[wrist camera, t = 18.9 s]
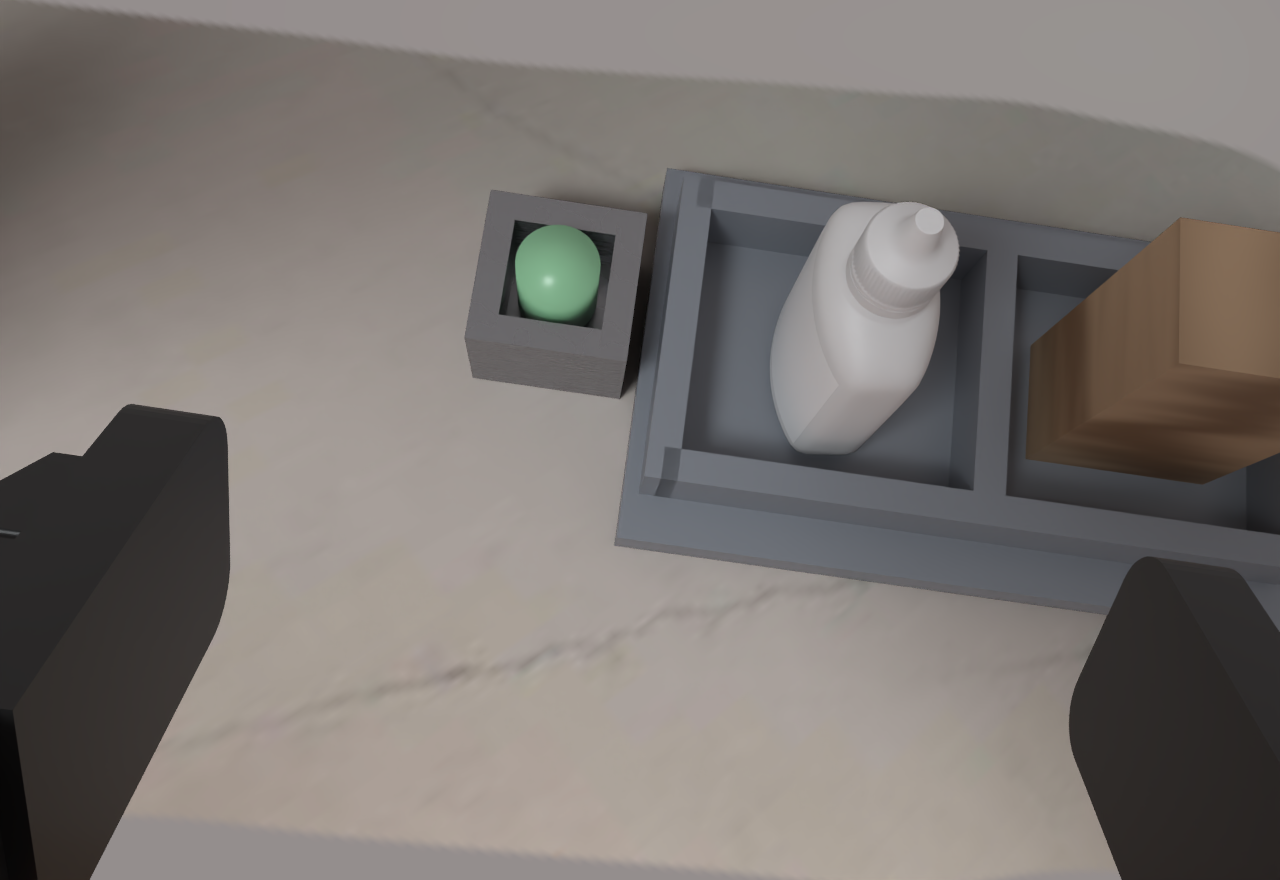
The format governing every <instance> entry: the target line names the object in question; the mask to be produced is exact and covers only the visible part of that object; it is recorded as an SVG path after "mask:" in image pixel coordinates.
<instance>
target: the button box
mask: <svg viewBox="0 0 1280 880" xmlns="http://www.w3.org/2000/svg"><path fill="white" fill-rule="evenodd" d="M646 220H647V213H642V212H635V211H628V210H622V209H615V208H609V207H602V206H595V205H589V204H582V203H575V202H569V201H562V200H556V199H549V198H542V197H536V196H529V195H522V194H516V193H509V192H503V191H496V190H491V192H490V198H489V203H488V209H487V215H486V220H485V226H484V231H483V237H482V243H481V248H480V254H479V259H478V265H477V271H476V276H475V282H474V288H473V293H472V299H471V304H470V310H469V316H468V321H467V327H466V332H465V342H466V347H467V352H468V357H469V361H470V366H471V371H472V376H473V378H480V379H487V380H494V381H500V382H507V383H514V384H521V385H528V386H535V387H542V388H549V389H555V390H562V391H569V392H576V393H583V394H590V395H597V396H604V397H611V398H617V399H620V394H621V389H622V384H623V378H624V373H625V368H626V363H627V356H628V349H629V342H630V335H631V327H632V320H633V313H634V306H635V299H636V292H637V285H638V277H639V270H640V263H641V256H642V249H643V242H644V234H645V227H646ZM549 225H566V226H570V227H573V228H576V229H578V230H580V231H581V232H583V233H584V234H585V235H587V236H588V237H589V238H590V239H591V240H592V242H593V243H594V244H595V246H596V248H597V250H598V253H599V256H600V263H601V267H600V277H599V287H598V297H597V305H596V309H595V312H594V314H593V316H592V318H591V319H590V320H589V322H588V323H587V324H586V325H585V326H583V327H580V326H573V325H566V324H560V323H553V322H546V321H539V320H532V319H526V318H524V317H523V316H522V314H521V312H520V309H519V305H518V297H517V284H516V270H515V259H516V254H517V251H518V248H519V247H520V245H521V243H522V242H523V240H524V239H525V238H526V237H527V236H528V235H529V234H531V233H532V232H534V231H535V230H537V229H539V228H542V227H545V226H549Z"/></svg>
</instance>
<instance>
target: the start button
mask: <svg viewBox="0 0 1280 880" xmlns="http://www.w3.org/2000/svg"><path fill="white" fill-rule="evenodd" d="M600 267H601V263H600V256H599V253H598V250H597V248H596V246H595V244H594V243H593V242H592V240H591V239H590V238H589V237H588V236H587V235H585V234H584V233H583V232H581V231H580V230H578V229H576V228H573V227H570V226H566V225H549V226H545V227H542V228H539V229H537V230H535V231H534V232H532V233H531V234H529V235H528V236H527V237H526V238H525V239H524V240H523V242H522V243H521V245H520V247H519V248H518V251H517V254H516V259H515V270H516V284H517V297H518V305H519V309H520V312H521V314H522V316H523V317H524V318H526V319H532V320H539V321H546V322H553V323H560V324H566V325H573V326H580V327H583V326H585V325H586V324H587V323H588V322H589V320H590V319H591V318H592V316H593V314H594V312H595V309H596V305H597V297H598V287H599V277H600Z"/></svg>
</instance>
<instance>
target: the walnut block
mask: <svg viewBox="0 0 1280 880" xmlns="http://www.w3.org/2000/svg"><path fill="white" fill-rule="evenodd" d="M1278 453H1280V233H1279V232H1272V231H1266V230H1259V229H1253V228H1246V227H1240V226H1233V225H1227V224H1220V223H1214V222H1207V221H1201V220H1194V219H1188V218H1181V217H1180V218H1179V219H1178V220H1177V221H1176V222H1175V223H1173V224H1172V225H1171V226H1170V227H1169V228H1168V229H1166V230H1165V231H1164V232H1163V233H1162V234H1161V235H1159V236H1158V237H1157V238H1156V239H1155V240H1153V241H1152V242H1151V243H1150V244H1149V245H1148V246H1146V247H1145V248H1144V249H1143V250H1142V251H1141V252H1139V253H1138V254H1137V255H1136V256H1135V257H1134V258H1132V259H1131V260H1130V261H1129V262H1128V263H1127V264H1125V265H1124V266H1123V267H1122V268H1121V269H1120V270H1118V271H1117V272H1116V273H1115V274H1114V275H1113V276H1111V277H1110V278H1109V279H1108V280H1107V281H1106V282H1104V283H1103V284H1102V285H1101V286H1100V287H1098V288H1097V289H1096V290H1095V291H1094V292H1093V293H1091V294H1090V295H1089V296H1088V297H1087V298H1086V299H1084V300H1083V301H1082V302H1081V303H1080V304H1079V305H1077V306H1076V307H1075V308H1074V309H1073V310H1072V311H1070V312H1069V313H1068V314H1067V315H1066V316H1065V317H1063V318H1062V319H1061V320H1060V321H1059V322H1058V323H1056V324H1055V325H1054V326H1053V327H1052V328H1050V329H1049V330H1048V331H1047V332H1046V333H1045V334H1043V335H1042V336H1041V337H1040V338H1039V339H1038V340H1036V341H1035V342H1034V343H1033V344H1032V345H1031V349H1030V371H1029V393H1028V414H1027V436H1026V458H1025V459H1029V460H1036V461H1043V462H1049V463H1056V464H1063V465H1070V466H1077V467H1084V468H1091V469H1098V470H1104V471H1111V472H1118V473H1125V474H1132V475H1139V476H1146V477H1153V478H1160V479H1166V480H1173V481H1180V482H1187V483H1194V484H1201V485H1203V484H1205V483H1208V482H1210V481H1213V480H1215V479H1217V478H1220V477H1222V476H1225V475H1227V474H1229V473H1232V472H1234V471H1237V470H1239V469H1242V468H1244V467H1246V466H1249V465H1251V464H1254V463H1256V462H1258V461H1261V460H1263V459H1266V458H1268V457H1270V456H1273V455H1275V454H1278Z"/></svg>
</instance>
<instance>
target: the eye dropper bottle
mask: <svg viewBox="0 0 1280 880" xmlns="http://www.w3.org/2000/svg"><path fill="white" fill-rule="evenodd" d="M957 237H958V236H957V235H956V232H955V231H954V228H953V227H952V226H951V223H950V222H948V219H946V218H945V216H943V215H942V214H941V212H940V211H938V210H937V209H935V208H932V207H929V206H928V205H924V204H923V203H922V204H920V203H918V202H917V203H915V202H913V201H912V202H909V201H907V202H902V203H900V202H898V203H897V204H895V203H885V202H852V203H849V204H846V205H843V206H841V207H840V208H839V209H837V210H836V211H835V212H834V213H833V215H832V216H831V217H830V219H829V220H828V222H827V224H826V226H825V227H824V229H823V231H822V232H821V234H820V236H819V238H818V240H817V242H816V244H815V246H814V248H813V249H812V251H811V253H810V255H809V257H808V259H807V261H806V263H805V265H804V267H803V268H802V270H801V272H800V274H799V276H798V278H797V280H796V282H795V284H794V286H793V288H792V290H791V292H790V294H789V296H788V297H787V299H786V301H785V303H784V305H783V308H782V310H781V313H780V315H779V318H778V321H777V324H776V328H775V332H774V336H773V341H772V346H771V354H770V383H771V391H772V397H773V401H774V405H775V409H776V413H777V416H778V419H779V421H780V424H781V427H782V429H783V431H784V434H785V436H786V438H787V439H788V441H789V443H790V445H791V446H792V447H793V448H794V449H795V450H796V451H798V452H801V453H804V454H815V455H846V454H850V453H853V452H855V451H856V450H857V449H858V448H859V447H860V446H861V445H862V444H863V443H864V442H865V441H866V440H867V439H868V438H869V437H870V436H871V435H872V434H873V433H874V432H875V431H876V430H877V429H878V428H879V427H880V426H881V425H882V424H883V423H884V422H885V421H886V420H887V419H888V418H889V417H890V416H891V415H892V414H893V413H894V412H895V411H896V410H897V409H898V408H899V407H900V406H901V405H902V404H903V403H904V402H905V400H906V399H907V398H908V397H909V396H910V395H911V394H912V393H913V392H914V390H915V389H916V388H917V387H918V385H919V384H920V382H921V380H922V378H923V376H924V374H925V372H926V370H927V367H928V365H929V362H930V359H931V356H932V353H933V350H934V346H935V342H936V338H937V332H938V326H939V318H940V289H941V288H942V287H943V285H944V284H945V283H946V282H947V281H948V279H949V278H950V277H951V275H952V274H953V272H954V271H955V269H956V266H957V265H958V264H957V262H958V261H959V259H958V257H959V256H960V255H959V252H960V250H959V247H960V246H959V244H958V242H959V241H958V239H957Z"/></svg>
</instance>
